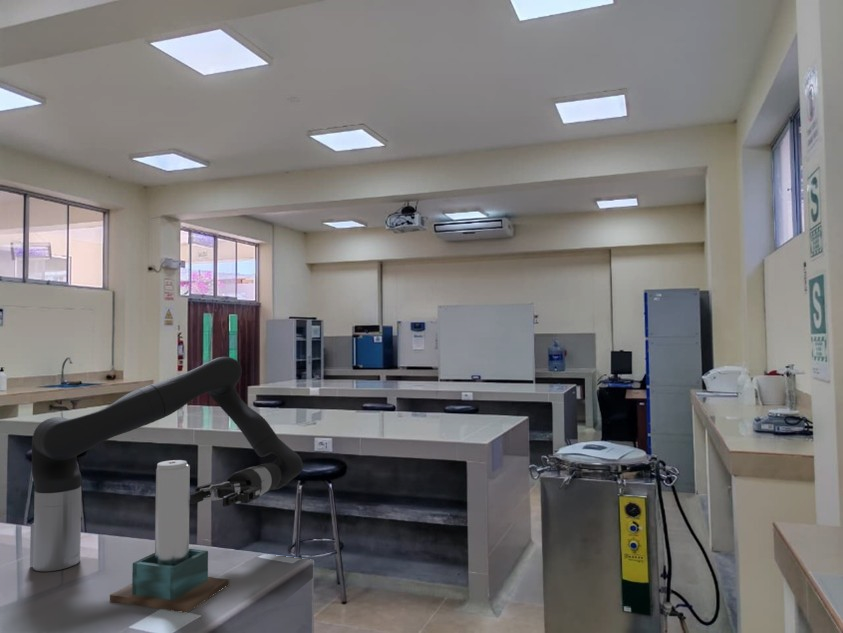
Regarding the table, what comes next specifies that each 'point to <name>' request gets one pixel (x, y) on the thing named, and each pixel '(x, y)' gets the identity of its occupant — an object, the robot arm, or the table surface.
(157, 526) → the silver metal cylinder
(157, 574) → the cup stand
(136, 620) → the table surface
